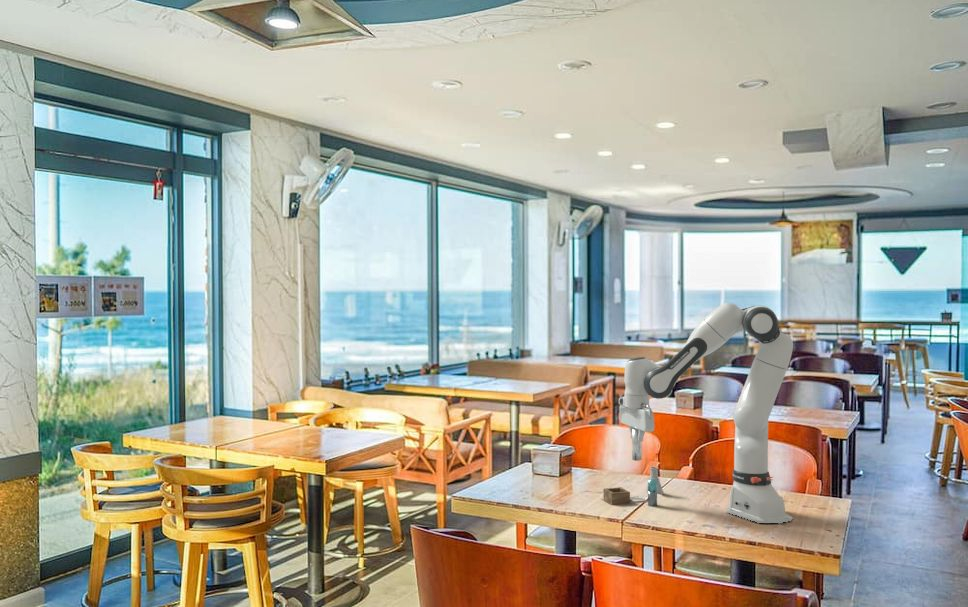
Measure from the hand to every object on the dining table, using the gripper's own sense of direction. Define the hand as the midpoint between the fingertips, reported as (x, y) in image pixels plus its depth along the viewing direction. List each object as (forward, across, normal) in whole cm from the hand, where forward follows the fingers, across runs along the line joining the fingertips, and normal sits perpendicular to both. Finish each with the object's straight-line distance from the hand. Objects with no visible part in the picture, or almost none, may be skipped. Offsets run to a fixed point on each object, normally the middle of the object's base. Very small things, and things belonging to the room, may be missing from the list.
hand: (636, 440), depth 274 cm
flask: (+23, +9, -12) cm, 27 cm away
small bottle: (+23, -8, -2) cm, 24 cm away
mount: (+23, 0, +5) cm, 23 cm away
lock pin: (+7, 0, 0) cm, 7 cm away
